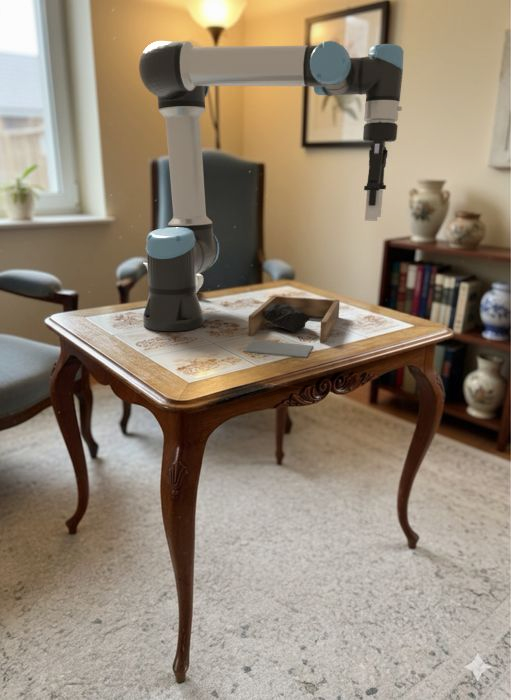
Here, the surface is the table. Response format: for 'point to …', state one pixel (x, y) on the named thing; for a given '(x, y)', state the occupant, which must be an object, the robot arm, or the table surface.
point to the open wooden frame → (313, 307)
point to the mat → (279, 348)
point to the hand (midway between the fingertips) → (373, 218)
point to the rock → (286, 317)
